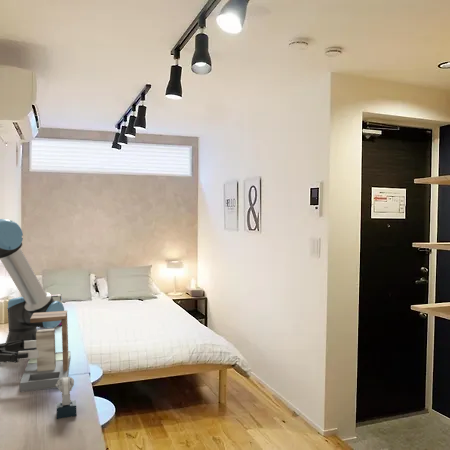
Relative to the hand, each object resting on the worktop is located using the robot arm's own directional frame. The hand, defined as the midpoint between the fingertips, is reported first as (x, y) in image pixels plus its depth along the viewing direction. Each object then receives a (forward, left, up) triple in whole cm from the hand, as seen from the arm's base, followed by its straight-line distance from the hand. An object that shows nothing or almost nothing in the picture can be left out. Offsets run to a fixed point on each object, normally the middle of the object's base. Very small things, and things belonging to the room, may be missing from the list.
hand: (40, 348), depth 173 cm
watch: (+36, +10, -11) cm, 39 cm away
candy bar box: (-84, -3, -11) cm, 84 cm away
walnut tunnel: (-1, +3, -8) cm, 9 cm away
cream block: (-1, +2, -8) cm, 8 cm away
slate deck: (-4, +2, -11) cm, 12 cm away
